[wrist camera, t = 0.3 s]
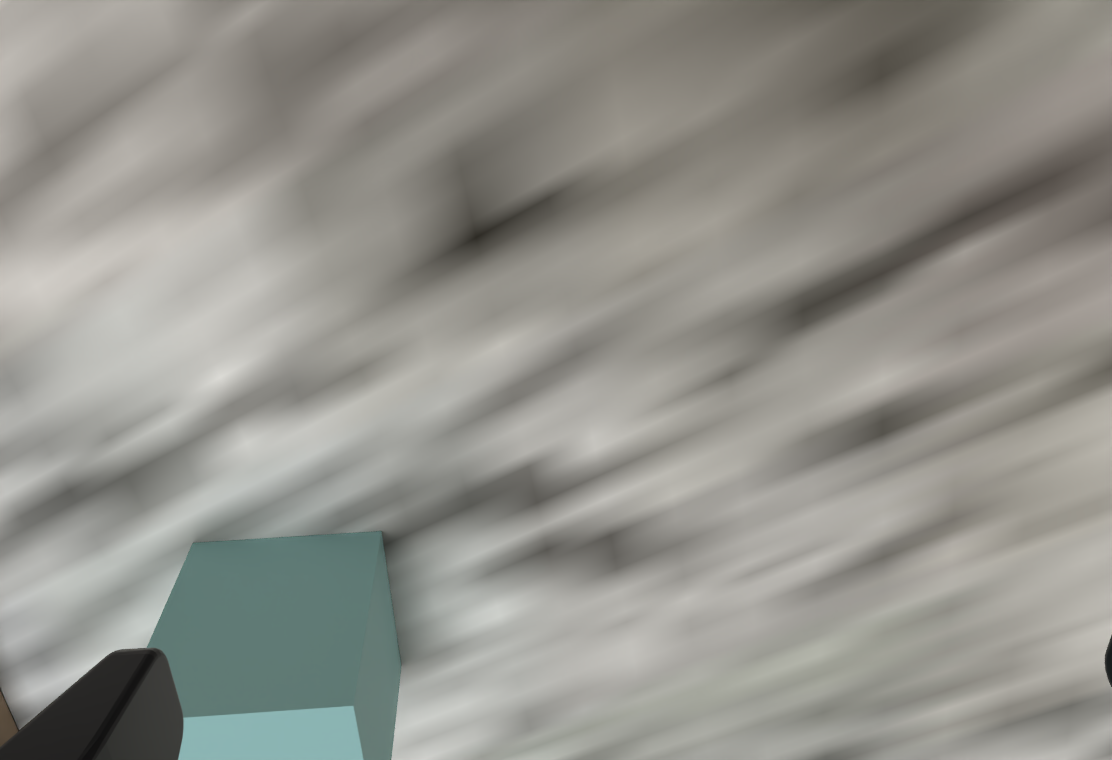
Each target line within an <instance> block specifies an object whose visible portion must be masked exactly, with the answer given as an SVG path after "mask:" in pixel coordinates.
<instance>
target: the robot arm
mask: <svg viewBox="0 0 1112 760" xmlns="http://www.w3.org/2000/svg"><path fill="white" fill-rule="evenodd" d="M1105 669H1106V673H1107V677H1108V680H1109V682H1110V685H1111V687H1112V636H1111V639H1110V642H1109V644H1108V647H1107V650H1106V654H1105ZM183 729H184V719H183V712H182V707H181V704H180V700H179V697H178V694H177V690H176V687H175V683H174V680H173V676H172V673H171V669H170V666H169V662H168V659H167V657H166V655H165V654H164V652H163V651H162V650H160V649H157V648H138V649H121V650H117V651H114V652H112V653H110V654H109V655H108V656H106V657H105V658H104V659H102V660H101V661H100V662H99V663H98V664H97V665H95V666H94V667H93V668H92V669H91V670H90V671H88V672H87V673H86V674H85V675H84V676H83V677H81V678H80V679H79V680H78V681H77V682H76V683H74V684H73V685H72V686H71V687H70V688H69V689H67V690H66V691H65V692H64V693H63V694H61V695H60V696H59V697H58V698H57V699H56V700H54V701H53V702H52V703H51V704H50V705H49V706H47V707H46V708H45V709H44V710H43V711H42V712H40V713H39V714H38V715H37V716H36V717H35V718H33V719H32V720H31V721H30V722H29V723H27V724H26V725H25V726H24V727H23V728H22V729H20V730H19V731H18V732H17V733H16V734H15V735H13V736H12V737H11V738H10V739H9V740H8V741H6V742H5V743H4V744H3V745H2V746H1V747H0V760H178V758H179V753H180V749H181V744H182V738H183Z"/></svg>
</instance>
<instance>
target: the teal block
mask: <svg viewBox="0 0 1112 760" xmlns="http://www.w3.org/2000/svg"><path fill="white" fill-rule="evenodd" d="M147 648H157V649H160V650H162V651H163V652H164V654H165V655H166V657H167V659H168V662H169V666H170V669H171V673H172V676H173V680H174V683H175V687H176V690H177V694H178V697H179V700H180V704H181V707H182V712H183V719H184V729H183V738H182V744H181V749H180V753H179V758H178V760H391V757H392V748H393V739H394V729H395V720H396V711H397V702H398V692H399V683H400V674H401V660H400V653H399V646H398V639H397V633H396V626H395V619H394V612H393V606H392V599H391V592H390V586H389V579H388V572H387V565H386V559H385V552H384V545H383V538H382V532H381V531H376V532H359V533H343V534H327V535H311V536H295V537H279V538H263V539H247V540H231V541H215V542H199V543H193V544H192V546H191V548H190V551H189V553H188V555H187V558H186V560H185V562H184V564H183V567H182V569H181V571H180V573H179V576H178V578H177V580H176V583H175V585H174V587H173V589H172V592H171V594H170V596H169V598H168V601H167V603H166V605H165V608H164V610H163V612H162V614H161V617H160V619H159V621H158V623H157V626H156V628H155V630H154V633H153V635H152V637H151V639H150V642H149V644H148V646H147Z"/></svg>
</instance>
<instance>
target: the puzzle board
mask: <svg viewBox="0 0 1112 760" xmlns="http://www.w3.org/2000/svg"><path fill="white" fill-rule="evenodd" d="M17 732H18V729H17V727H16V725H15V722H14V720H13V718H12V716H11V713H10V711H9V709H8V707H7V704H6V702H5V700H4V698H3V696H2V693H1V691H0V747H1V746H2V745H3V744H4V743H5V742H6V741H8V740H9V739H10V738H11V737H12V736H13V735H15V734H16V733H17Z"/></svg>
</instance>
